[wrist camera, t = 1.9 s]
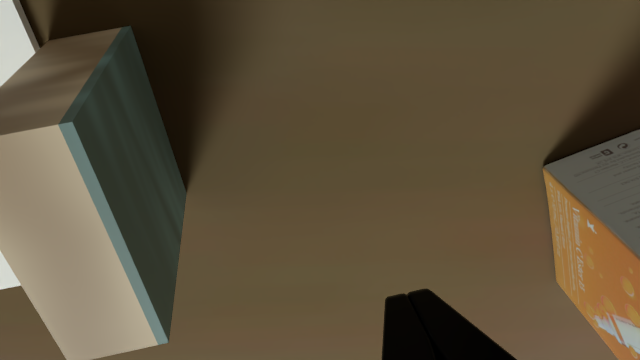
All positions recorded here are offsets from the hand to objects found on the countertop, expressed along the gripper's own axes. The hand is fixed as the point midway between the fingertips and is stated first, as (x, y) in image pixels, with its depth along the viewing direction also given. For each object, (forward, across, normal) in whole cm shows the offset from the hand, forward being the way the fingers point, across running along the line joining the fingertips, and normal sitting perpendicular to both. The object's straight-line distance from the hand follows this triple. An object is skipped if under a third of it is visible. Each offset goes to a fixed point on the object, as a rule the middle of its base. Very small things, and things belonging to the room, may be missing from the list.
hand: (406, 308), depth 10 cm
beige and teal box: (+12, +8, 0) cm, 14 cm away
